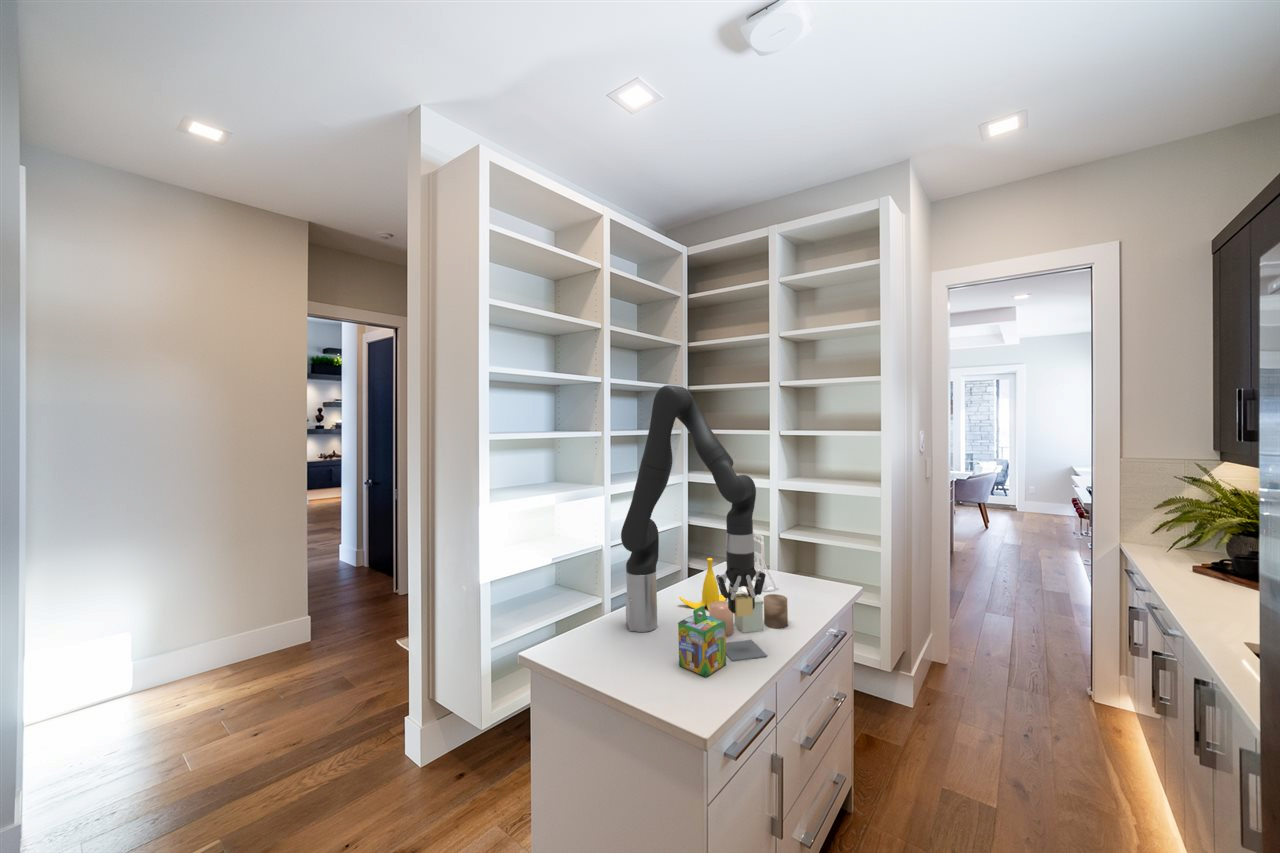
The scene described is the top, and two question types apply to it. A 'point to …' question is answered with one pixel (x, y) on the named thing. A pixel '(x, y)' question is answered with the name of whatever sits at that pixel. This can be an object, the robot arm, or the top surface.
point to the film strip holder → (760, 566)
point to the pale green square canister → (751, 618)
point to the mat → (743, 650)
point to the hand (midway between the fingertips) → (741, 610)
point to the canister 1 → (722, 615)
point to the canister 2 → (775, 611)
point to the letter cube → (743, 605)
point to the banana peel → (707, 590)
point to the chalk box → (702, 643)
